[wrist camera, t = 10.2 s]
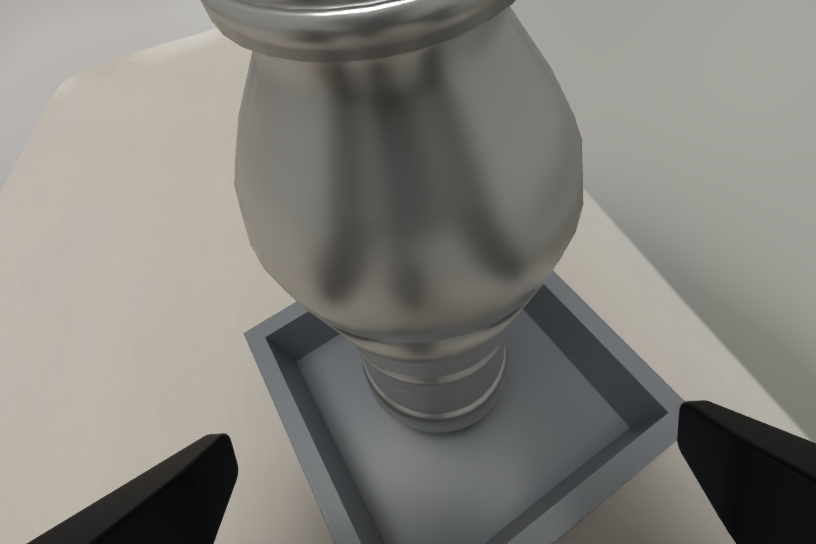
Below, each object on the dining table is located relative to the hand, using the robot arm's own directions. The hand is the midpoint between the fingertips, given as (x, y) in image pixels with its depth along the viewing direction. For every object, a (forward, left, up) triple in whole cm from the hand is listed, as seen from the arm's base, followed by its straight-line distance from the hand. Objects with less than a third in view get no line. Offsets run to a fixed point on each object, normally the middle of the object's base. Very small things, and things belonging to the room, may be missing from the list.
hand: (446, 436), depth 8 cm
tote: (+2, +3, -12) cm, 13 cm away
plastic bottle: (+2, +4, -12) cm, 13 cm away
